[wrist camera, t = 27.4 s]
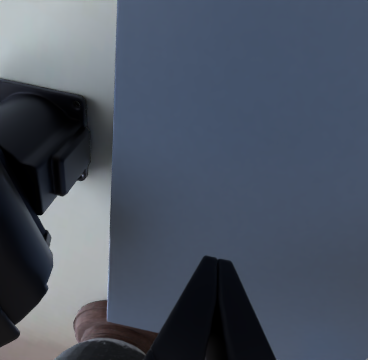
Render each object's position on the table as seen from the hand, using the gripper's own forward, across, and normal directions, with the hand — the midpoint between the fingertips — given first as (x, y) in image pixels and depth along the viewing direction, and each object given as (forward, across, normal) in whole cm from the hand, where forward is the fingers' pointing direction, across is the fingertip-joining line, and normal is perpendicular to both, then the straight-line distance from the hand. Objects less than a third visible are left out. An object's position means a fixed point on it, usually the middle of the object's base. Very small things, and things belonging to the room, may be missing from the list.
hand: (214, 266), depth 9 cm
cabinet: (+12, -3, +1) cm, 12 cm away
